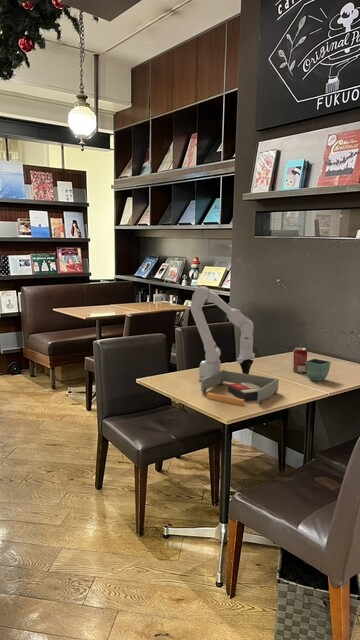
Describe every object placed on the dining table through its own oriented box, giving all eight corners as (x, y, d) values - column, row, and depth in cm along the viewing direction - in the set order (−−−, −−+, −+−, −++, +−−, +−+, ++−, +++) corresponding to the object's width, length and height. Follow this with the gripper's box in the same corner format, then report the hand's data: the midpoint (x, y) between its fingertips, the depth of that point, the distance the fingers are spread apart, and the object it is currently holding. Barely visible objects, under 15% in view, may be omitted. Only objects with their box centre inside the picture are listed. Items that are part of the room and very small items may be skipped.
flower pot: (321, 383, 213) (322, 364, 211) (304, 379, 218) (305, 361, 217) (330, 379, 219) (331, 361, 218) (312, 376, 225) (313, 358, 224)
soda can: (306, 373, 230) (307, 350, 228) (292, 372, 231) (293, 349, 229) (305, 370, 236) (307, 347, 234) (292, 369, 237) (293, 346, 236)
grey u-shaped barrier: (200, 393, 196) (201, 379, 195) (222, 382, 212) (223, 370, 211) (259, 405, 181) (260, 390, 180) (278, 392, 198) (278, 379, 197)
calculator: (249, 381, 203) (267, 389, 189) (249, 390, 204) (267, 399, 190) (227, 383, 199) (244, 391, 185) (227, 393, 200) (244, 402, 186)
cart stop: (207, 398, 189) (207, 393, 189) (208, 397, 191) (209, 392, 190) (242, 405, 181) (242, 400, 180) (244, 404, 182) (244, 399, 182)
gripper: (247, 350, 202) (246, 380, 204) (261, 344, 214) (260, 373, 216) (233, 348, 206) (232, 377, 208) (247, 343, 218) (246, 371, 220)
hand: (245, 375), depth 212 cm, fingers closed
